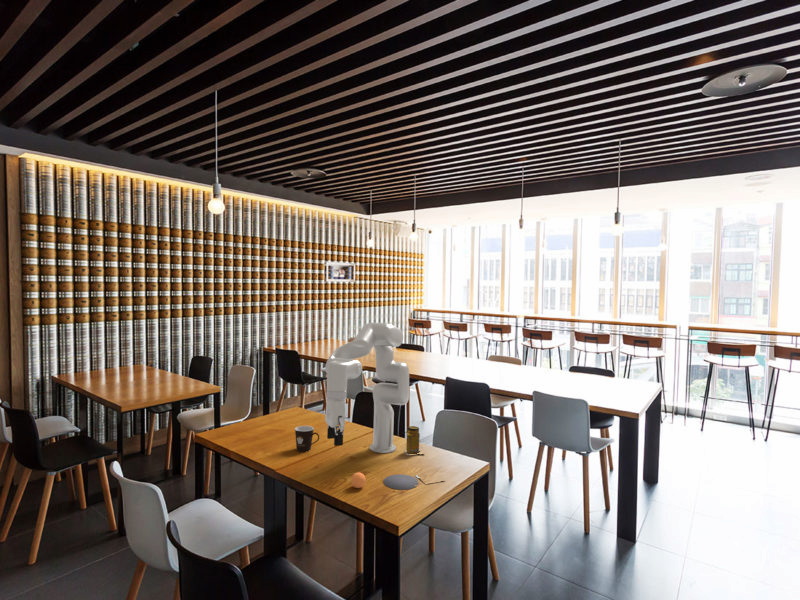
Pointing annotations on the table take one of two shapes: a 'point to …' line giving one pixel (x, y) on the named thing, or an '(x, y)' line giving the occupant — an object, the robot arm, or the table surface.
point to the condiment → (412, 440)
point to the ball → (358, 480)
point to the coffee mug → (304, 438)
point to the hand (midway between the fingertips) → (334, 441)
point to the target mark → (400, 482)
